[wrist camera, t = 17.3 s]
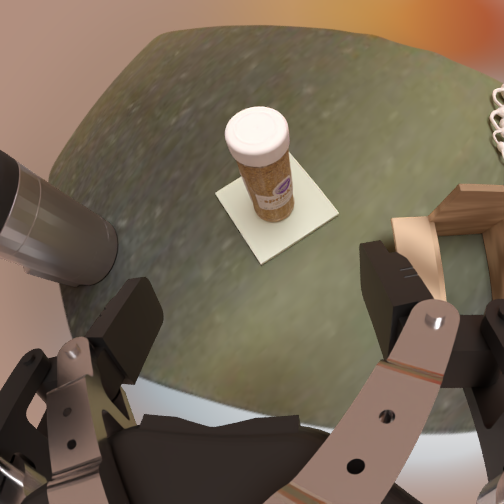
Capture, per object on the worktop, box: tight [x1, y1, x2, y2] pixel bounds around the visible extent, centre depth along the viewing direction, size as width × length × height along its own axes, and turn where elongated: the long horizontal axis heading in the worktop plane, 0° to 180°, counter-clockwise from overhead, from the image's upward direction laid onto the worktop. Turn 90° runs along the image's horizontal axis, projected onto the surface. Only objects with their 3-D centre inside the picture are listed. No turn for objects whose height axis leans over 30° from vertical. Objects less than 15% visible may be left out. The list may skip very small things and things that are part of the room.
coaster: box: [215, 153, 339, 265], centre depth 32 cm, size 10×10×1 cm
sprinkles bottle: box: [225, 107, 294, 222], centre depth 26 cm, size 5×4×14 cm
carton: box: [391, 184, 504, 301], centre depth 21 cm, size 15×19×12 cm
